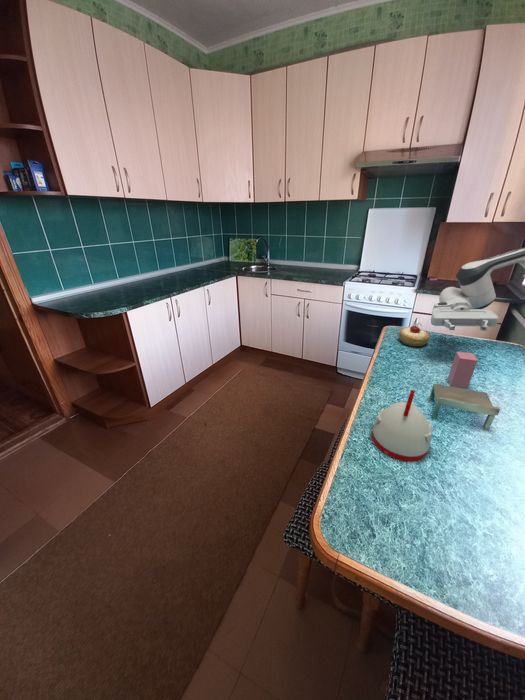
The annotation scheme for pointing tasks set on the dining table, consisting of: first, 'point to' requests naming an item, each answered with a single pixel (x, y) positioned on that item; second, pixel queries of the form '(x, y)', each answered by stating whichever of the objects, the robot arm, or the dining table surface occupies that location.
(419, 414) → the kitchen timer
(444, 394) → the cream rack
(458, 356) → the pink carton
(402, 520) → the dining table surface
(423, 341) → the pastry
